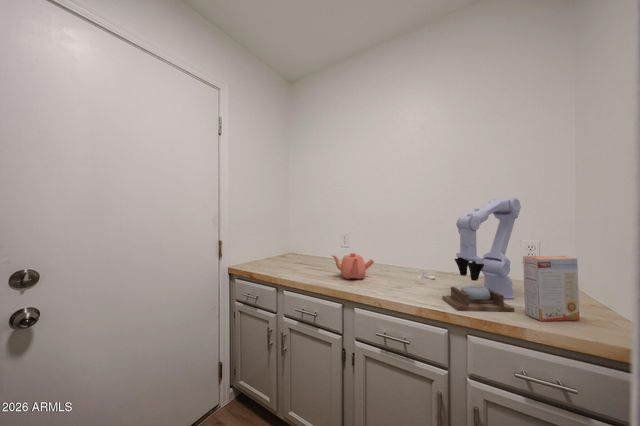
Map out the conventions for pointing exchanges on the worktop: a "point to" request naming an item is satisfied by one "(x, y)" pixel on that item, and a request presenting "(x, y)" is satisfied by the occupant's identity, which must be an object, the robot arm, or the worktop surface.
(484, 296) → the roll
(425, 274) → the teacup and saucer
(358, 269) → the teapot
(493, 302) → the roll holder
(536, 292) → the cracker box
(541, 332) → the worktop surface
